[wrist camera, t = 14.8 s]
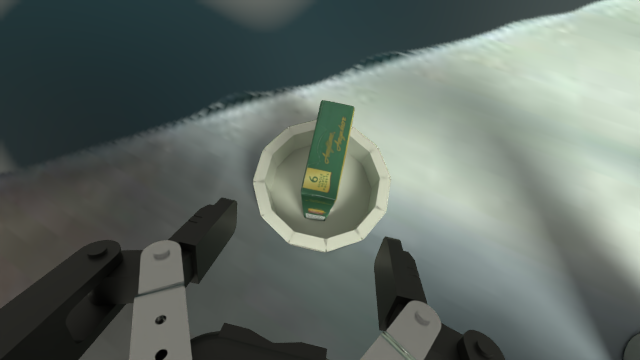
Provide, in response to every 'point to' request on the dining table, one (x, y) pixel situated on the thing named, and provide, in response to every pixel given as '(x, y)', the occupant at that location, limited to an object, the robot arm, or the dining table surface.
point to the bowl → (352, 201)
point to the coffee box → (326, 159)
